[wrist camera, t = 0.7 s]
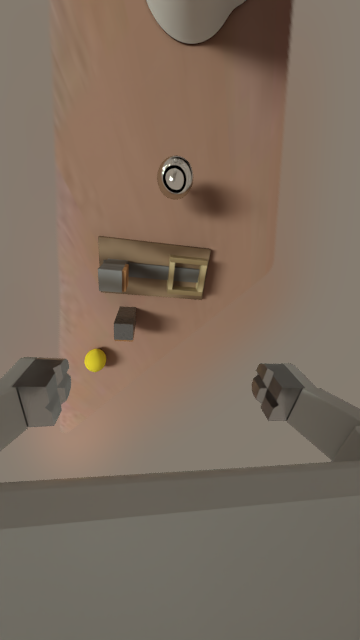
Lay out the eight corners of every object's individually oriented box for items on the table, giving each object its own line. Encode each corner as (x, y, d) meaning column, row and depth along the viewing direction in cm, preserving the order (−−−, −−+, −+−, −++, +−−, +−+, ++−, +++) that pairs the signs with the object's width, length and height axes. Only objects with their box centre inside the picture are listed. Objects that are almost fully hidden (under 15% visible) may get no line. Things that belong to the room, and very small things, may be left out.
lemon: (88, 343, 56) (82, 352, 51) (108, 345, 57) (105, 354, 52) (87, 365, 58) (81, 377, 53) (107, 367, 59) (103, 378, 54)
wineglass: (190, 192, 42) (202, 185, 31) (165, 207, 42) (170, 206, 32) (176, 160, 39) (185, 141, 28) (150, 178, 40) (149, 165, 29)
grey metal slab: (119, 306, 51) (113, 323, 43) (136, 307, 52) (133, 324, 44) (120, 322, 53) (114, 341, 45) (135, 323, 54) (132, 342, 46)
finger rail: (99, 236, 43) (83, 242, 33) (209, 248, 47) (224, 258, 37) (102, 290, 49) (89, 310, 39) (200, 297, 53) (211, 317, 42)
